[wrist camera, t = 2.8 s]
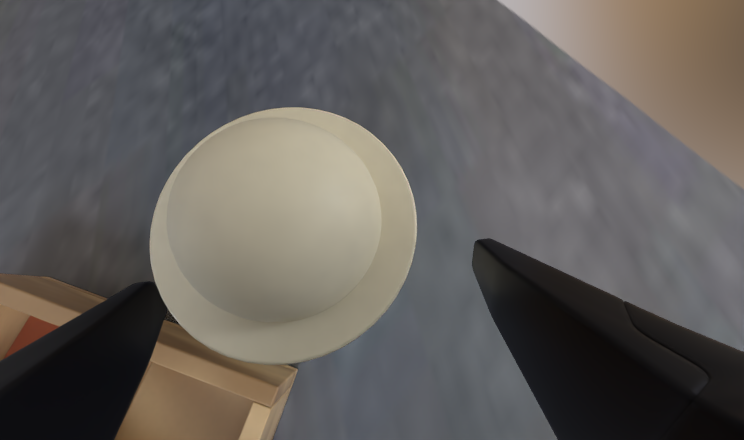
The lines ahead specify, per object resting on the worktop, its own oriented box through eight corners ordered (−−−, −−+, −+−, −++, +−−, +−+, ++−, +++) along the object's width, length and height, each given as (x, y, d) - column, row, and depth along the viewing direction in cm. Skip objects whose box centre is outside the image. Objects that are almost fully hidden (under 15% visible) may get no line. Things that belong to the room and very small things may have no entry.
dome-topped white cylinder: (367, 330, 16) (369, 476, 3) (291, 303, 16) (-56, 311, 3) (392, 252, 17) (479, 81, 4) (320, 229, 17) (167, -7, 4)
